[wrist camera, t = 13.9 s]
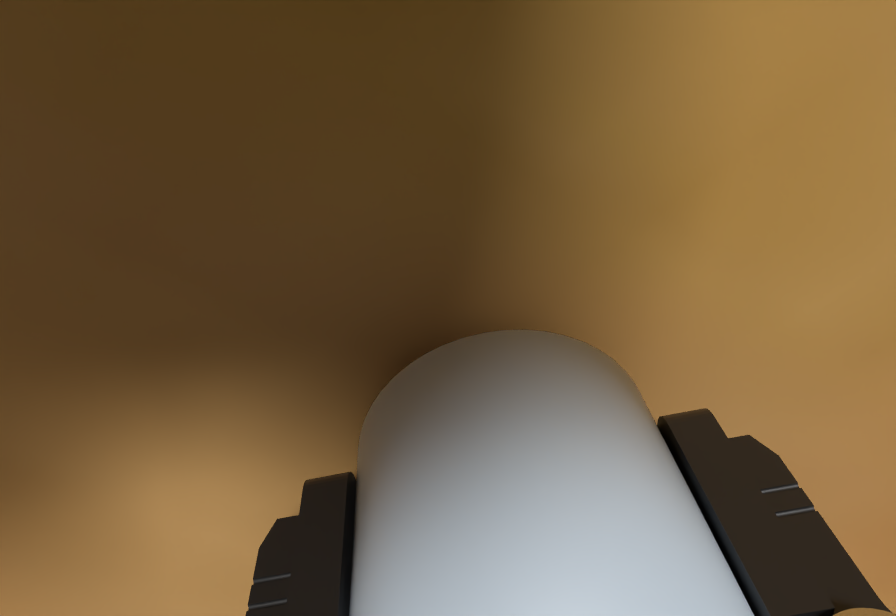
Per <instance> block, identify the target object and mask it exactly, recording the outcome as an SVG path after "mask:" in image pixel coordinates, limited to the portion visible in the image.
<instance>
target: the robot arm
mask: <svg viewBox="0 0 896 616" xmlns="http://www.w3.org/2000/svg"><path fill="white" fill-rule="evenodd" d="M657 427H658V429H659V431H660V433H661V435H662V437H663V439H664V440H665V442H666V444H667V446H668V448H669V450H670V452H671V454H672V456H673V458H674V460H675V462H676V464H677V466H678V468H679V470H680V472H681V474H682V476H683V478H684V480H685V481H686V483H687V485H688V487H689V489H690V491H691V493H692V495H693V497H694V499H695V501H696V503H697V505H698V507H699V509H700V511H701V513H702V515H703V517H704V519H705V521H706V522H707V524H708V526H709V528H710V530H711V532H712V534H713V536H714V538H715V540H716V542H717V544H718V546H719V548H720V550H721V552H722V554H723V556H724V558H725V560H726V562H727V564H728V565H729V567H730V569H731V571H732V573H733V575H734V577H735V579H736V581H737V583H738V585H739V587H740V589H741V591H742V593H743V595H744V597H745V599H746V601H747V603H748V605H749V606H750V608H751V610H752V612H753V614H754V616H896V614H893V613H892V612H891V611H890V610H889V609H888V608H887V607H886V606H885V605H884V604H883V602H882V601H881V600H880V599H879V598H878V596H877V595H876V593H875V592H874V590H873V589H872V588H871V586H870V585H869V583H868V582H867V581H866V579H865V578H864V576H863V575H862V573H861V572H860V571H859V569H858V568H857V566H856V565H855V563H854V562H853V561H852V559H851V558H850V556H849V555H848V554H847V552H846V551H845V549H844V548H843V546H842V545H841V544H840V542H839V541H838V539H837V538H836V536H835V535H834V534H833V532H832V531H831V529H830V528H829V527H828V525H827V524H826V522H825V521H824V519H823V518H822V517H821V515H820V514H819V512H818V511H815V510H814V505H813V504H812V502H811V501H810V500H809V498H808V497H807V495H806V494H805V492H804V491H803V490H802V488H799V487H798V482H797V481H796V480H795V478H794V477H793V475H792V474H791V473H790V471H789V470H788V468H787V467H786V465H785V464H784V463H783V461H782V460H781V458H780V457H779V456H778V455H777V454H776V453H774V452H773V451H771V450H770V449H769V448H767V447H766V446H764V445H763V444H761V443H760V442H759V441H757V440H756V439H754V438H753V437H751V436H750V435H745V436H739V437H734V438H727V436H726V435H725V433H724V431H723V430H722V428H721V427H720V425H719V423H718V422H717V420H716V419H715V417H714V416H713V414H712V413H711V412H710V411H709V410H708V409H706V408H704V409H699V410H693V411H688V412H682V413H677V414H671V415H666V416H661V417H659V419H658V423H657ZM355 497H356V479H355V477H354V475H353V473H352V472H347V473H342V474H336V475H331V476H326V477H320V478H315V479H309V480H306V481H305V483H304V486H303V491H302V498H301V505H300V512H299V515H297V516H291V517H286V518H280V519H277V520H276V522H275V523H274V525H273V527H272V528H271V530H270V531H269V533H268V535H267V536H266V538H265V539H264V541H263V543H262V544H261V546H260V547H259V551H258V556H257V561H256V566H255V571H254V576H253V581H254V584H253V585H252V586H251V591H250V596H249V601H248V607H249V610H248V611H247V612H246V616H349V607H350V589H351V571H352V552H353V534H354V515H355Z"/></svg>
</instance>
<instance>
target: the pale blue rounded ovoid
mask: <svg viewBox="0 0 896 616" xmlns="http://www.w3.org/2000/svg"><path fill="white" fill-rule="evenodd" d="M349 616H754V614H753V612H752V610H751V608H750V606H749V605H748V603H747V601H746V599H745V597H744V595H743V593H742V591H741V589H740V587H739V585H738V583H737V581H736V579H735V577H734V575H733V573H732V571H731V569H730V567H729V565H728V564H727V562H726V560H725V558H724V556H723V554H722V552H721V550H720V548H719V546H718V544H717V542H716V540H715V538H714V536H713V534H712V532H711V530H710V528H709V526H708V524H707V522H706V521H705V519H704V517H703V515H702V513H701V511H700V509H699V507H698V505H697V503H696V501H695V499H694V497H693V495H692V493H691V491H690V489H689V487H688V485H687V483H686V481H685V480H684V478H683V476H682V474H681V472H680V470H679V468H678V466H677V464H676V462H675V460H674V458H673V456H672V454H671V452H670V450H669V448H668V446H667V444H666V442H665V440H664V439H663V437H662V435H661V433H660V431H659V429H658V427H657V425H656V423H655V421H654V419H653V417H652V415H651V413H650V411H649V409H648V407H647V405H646V403H645V401H644V399H643V398H642V396H641V394H640V392H639V390H638V388H637V386H636V384H635V383H634V381H633V380H632V379H631V377H630V376H629V375H628V373H627V372H626V371H625V370H624V369H623V368H622V367H621V366H620V365H619V364H618V363H617V362H616V361H615V360H613V359H612V358H611V357H609V356H608V355H606V354H605V353H603V352H602V351H601V350H599V349H597V348H595V347H593V346H591V345H589V344H587V343H585V342H582V341H580V340H577V339H574V338H571V337H568V336H565V335H560V334H556V333H551V332H546V331H535V330H501V331H494V332H486V333H481V334H477V335H473V336H468V337H464V338H461V339H458V340H456V341H453V342H450V343H447V344H445V345H442V346H440V347H438V348H436V349H434V350H432V351H430V352H428V353H426V354H424V355H423V356H421V357H420V358H418V359H417V360H415V361H414V362H412V363H410V364H409V365H408V366H406V367H405V368H404V369H403V370H402V371H400V372H399V373H398V374H397V375H396V376H394V377H393V378H392V380H391V381H390V382H389V383H388V384H387V385H386V386H385V387H384V388H383V389H382V390H381V392H380V393H379V395H378V396H377V398H376V399H375V401H374V402H373V404H372V405H371V407H370V409H369V411H368V413H367V415H366V417H365V419H364V423H363V426H362V429H361V433H360V438H359V446H358V460H357V479H356V497H355V515H354V534H353V552H352V571H351V589H350V607H349Z"/></svg>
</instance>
